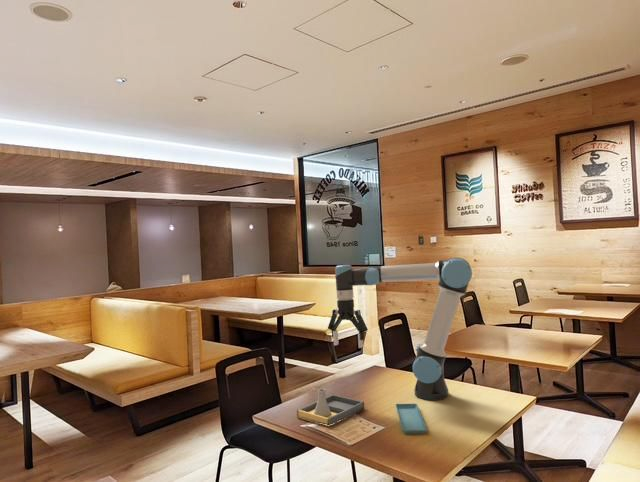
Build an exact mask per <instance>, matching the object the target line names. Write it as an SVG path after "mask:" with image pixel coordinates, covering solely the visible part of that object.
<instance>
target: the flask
mask: <svg viewBox="0 0 640 482" xmlns="http://www.w3.org/2000/svg"><path fill="white" fill-rule="evenodd" d="M317 392H318V398H317V400H316V402H317V405H316V408H315V411H314V414H316V415H319V416H323V417H328V416H329V415H331V412H330V409H329V407H328V404H327V401H326V389H325V388H319V389H317Z"/></svg>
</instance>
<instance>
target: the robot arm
mask: <svg viewBox="0 0 640 482" xmlns="http://www.w3.org/2000/svg"><path fill="white" fill-rule="evenodd" d="M334 270H335V275H334V277H335V285H336V299H337V301H336V304H337V308H335V309H332V313H331V317H330V320H329V323H328V325H327V329H328V330H330V331H331V338H333V346H338V345H339V331H338V327H339V326H340V324H341V323H342V321H350V322H351V323H352V325H354V327H355V329H356V330H357V331H358V333H357V343H358V349H361V348H363V347H364V340H365V333H366V332H367V331H368V330H369V329H368V327H367V325H366V323H365V320H364V319H363V316H362V315H361V310H360V309H357V310H355V309H354V308H355V301H354V297H355V296H354V287H356V286H376V285H378V284H379V283H390V282H391V283H393V282H411V281H413V282H414V281H415V282H416V281H434V280H435V281H438V283H437V287H438V288H439V294H438V296H437V300H436V303H435V306H434V310H433V313H432V316H431V320H430V323H429V326H428V330H427V332H426V336H425V339H424V342H423V343H420V344H417V345H416V349H415V351H416V356H415V359H414V362H412V373H413V375H414V376H415V378H416V379H417V380H416V382H415V386H414V396H415V397H417V398H419V399H422V400H428V401H439V400H444V399H445V400H446V399H447V398H449V396H450V395H449V388H448V386H447V383H446V380H445V374H444V372H445V371H444V370H445V369H444V363H445V361H446V357H447V353H446V351H445V348H446V345H447V341H448V338H449V335H450V333H451V329H452V325H453V322H454V319H455V315H456V313H457V309H458V307H459V303H460V299H461V297H462V296H465V295H466V293H467V291H468V290H467V289H468V286H469V283H470V281H471V279H472V276H473V269H472V267H471V265H470V263H469V262H468V261H467V260H466V259H464V258H461V257H453V258H448V259H442V260H441V259H440V260H437V261H436V262H431V263H429V262H427V263H415V264H414V263H411V264H398V265H396V264H395V265H381V266H379V265H378V266H374V265H370V266H368V267H365V268H353V267H352V265H351V264H342V265H341V264H340V265H336V266H335V269H334Z"/></svg>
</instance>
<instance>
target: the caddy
mask: <svg viewBox="0 0 640 482" xmlns="http://www.w3.org/2000/svg"><path fill="white" fill-rule="evenodd" d="M325 398H326V401H327V404H328V407H329V409H330V412H331V415H329V416H328V417H323V416H319V415H316V414H314V411H315V408H316V405H317V401H315V402H313V403H309V404H308V405H306V406H303V407H301V408H299V409H297V410H296V418H298V419H301V420H304V421H308V422H311V423H314V422H317V423H323V424H327V425H330V424H333V423H335V422H337V421H339V420H342V419H344V418H346V417H348V416H350V415H352V416H354V415H355V414H357V413H360V412H361V411H363V410H365V402H364V401H361V400H358V399H354V398H349V397H345V396H342V395H338V394H337V395H336V394H331V395H328V396H325ZM353 414H354V415H353ZM350 417H351V416H350ZM348 418H349V417H348ZM346 419H347V418H346ZM344 420H345V419H344ZM342 421H343V420H342ZM317 423H316V424H317Z"/></svg>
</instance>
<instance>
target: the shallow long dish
mask: <svg viewBox="0 0 640 482" xmlns="http://www.w3.org/2000/svg"><path fill="white" fill-rule="evenodd" d="M395 408H396V412H397V415H398V419H399V422H400V427H401V430H402V432H403V433H404V435H408V434H409V435H414V434H418V435H419V434H422V435H423V434H427V432H428V428H427V426H426V423H425V420H424V418H423V416H422V413H421V411H420V408H419V406H418V403H395Z"/></svg>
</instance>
